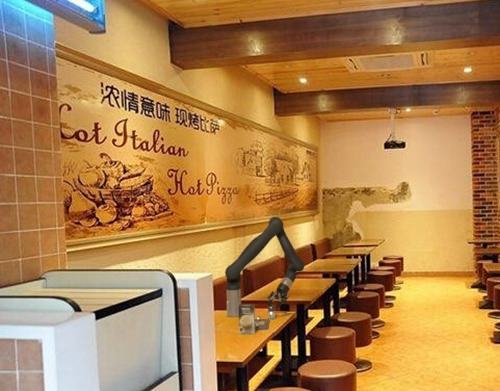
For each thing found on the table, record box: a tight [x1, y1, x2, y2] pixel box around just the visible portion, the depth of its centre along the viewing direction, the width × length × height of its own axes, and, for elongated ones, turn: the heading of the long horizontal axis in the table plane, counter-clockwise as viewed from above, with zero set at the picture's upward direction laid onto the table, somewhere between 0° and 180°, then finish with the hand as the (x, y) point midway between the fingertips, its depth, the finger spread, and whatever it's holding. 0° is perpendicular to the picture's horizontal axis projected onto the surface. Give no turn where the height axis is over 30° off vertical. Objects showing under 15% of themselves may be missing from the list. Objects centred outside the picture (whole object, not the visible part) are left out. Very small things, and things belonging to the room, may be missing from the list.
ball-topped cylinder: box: [267, 304, 276, 320], centre depth 368 cm, size 4×4×8 cm
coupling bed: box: [255, 315, 270, 331], centre depth 352 cm, size 13×24×3 cm, turn 176°
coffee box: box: [238, 303, 256, 335], centre depth 333 cm, size 9×6×16 cm
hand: (272, 306), depth 369 cm, fingers open, 8 cm apart
